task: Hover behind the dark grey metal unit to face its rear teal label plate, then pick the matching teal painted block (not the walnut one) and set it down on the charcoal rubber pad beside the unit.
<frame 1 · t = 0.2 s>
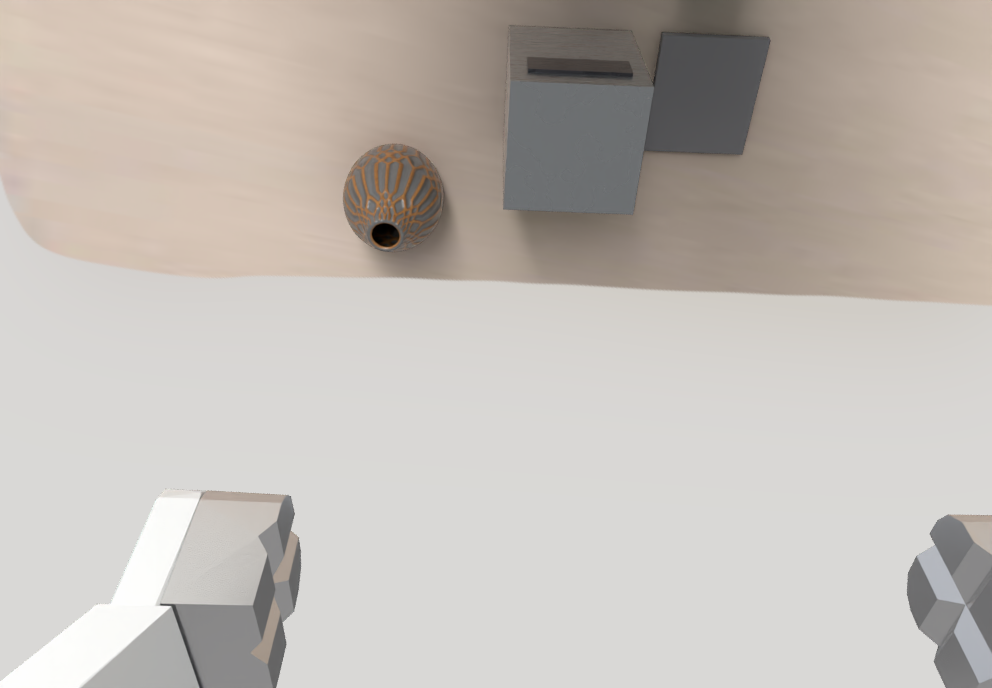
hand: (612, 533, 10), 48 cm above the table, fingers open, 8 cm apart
vase: (399, 173, 59), on the table
unit: (564, 88, 55), on the table
pad: (702, 94, 55), on the table
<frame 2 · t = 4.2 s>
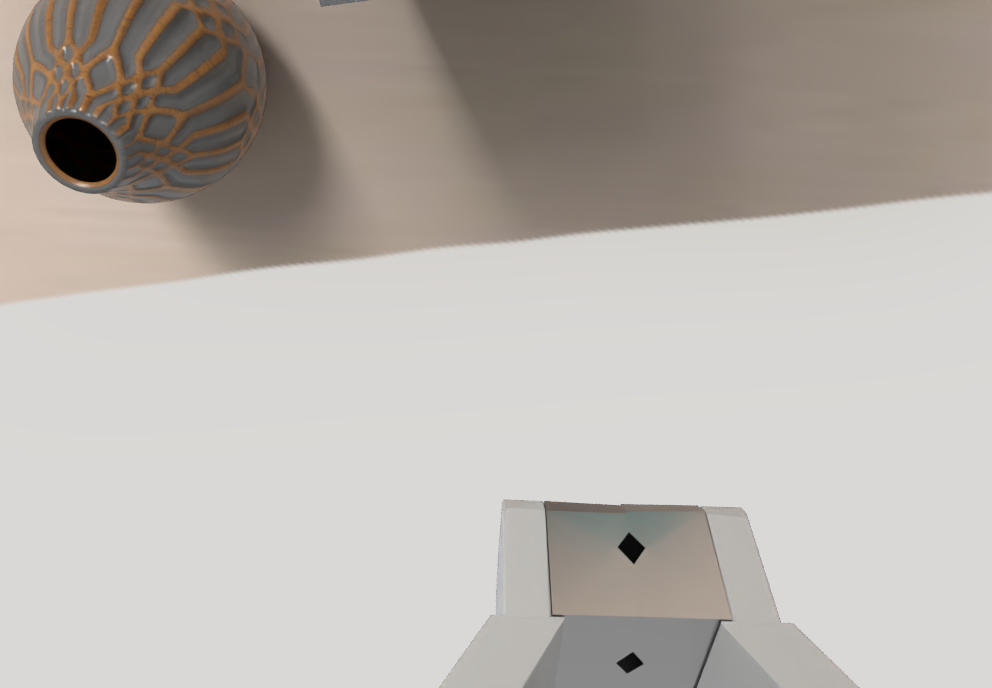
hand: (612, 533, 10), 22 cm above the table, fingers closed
vase: (186, 45, 28), on the table
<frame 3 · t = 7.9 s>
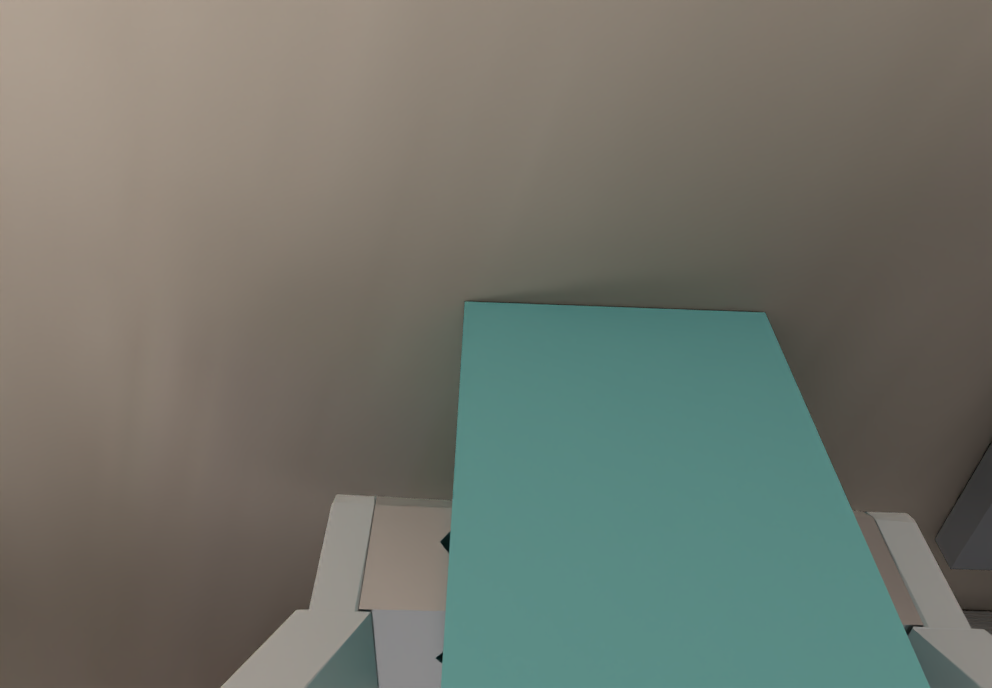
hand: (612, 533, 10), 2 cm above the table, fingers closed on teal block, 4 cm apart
teal block: (597, 417, 12), on the table, touching gripper
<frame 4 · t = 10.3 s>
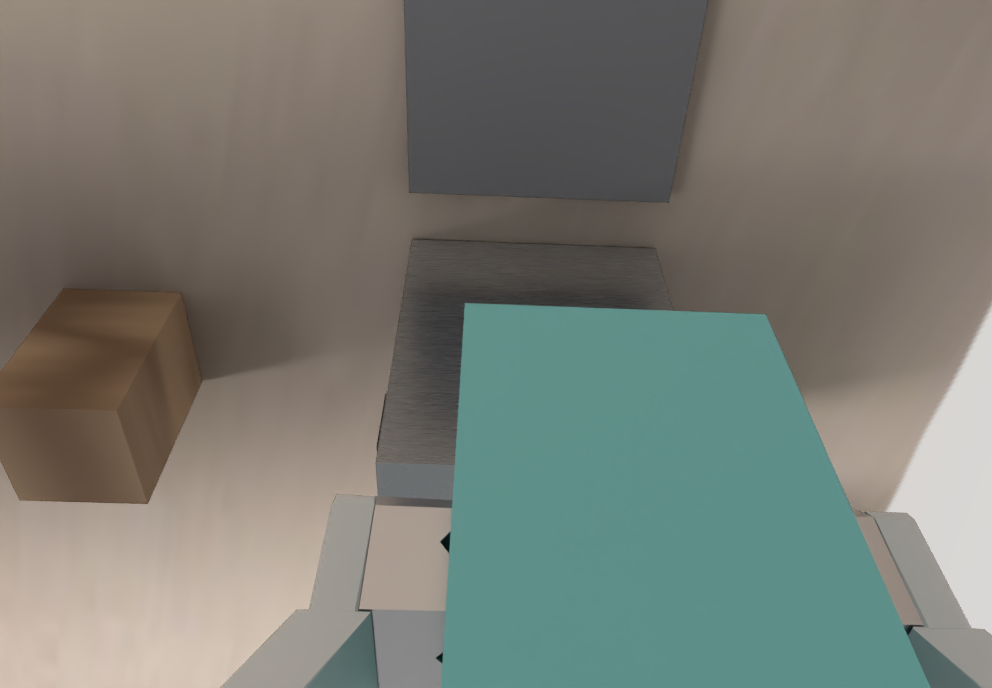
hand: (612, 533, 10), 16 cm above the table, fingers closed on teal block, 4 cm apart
teal block: (597, 419, 12), point 14 cm above the table, touching gripper
unit: (526, 340, 29), on the table
walnut block: (136, 336, 29), on the table
pad: (547, 77, 23), on the table
when the fingers open (4 cm above the table, at t = 12.8 s): teal block drops 1 cm, resting on pad.
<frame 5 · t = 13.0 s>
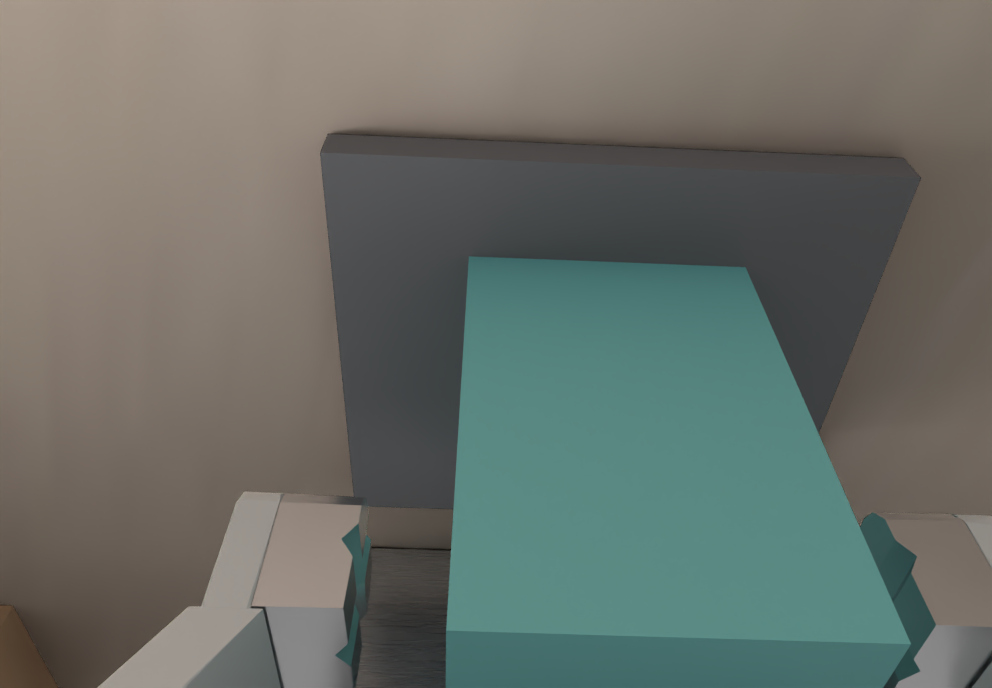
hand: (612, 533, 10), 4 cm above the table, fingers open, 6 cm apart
teal block: (591, 368, 13), point 1 cm above the table, touching pad
unit: (543, 659, 19), on the table
pad: (589, 345, 13), on the table
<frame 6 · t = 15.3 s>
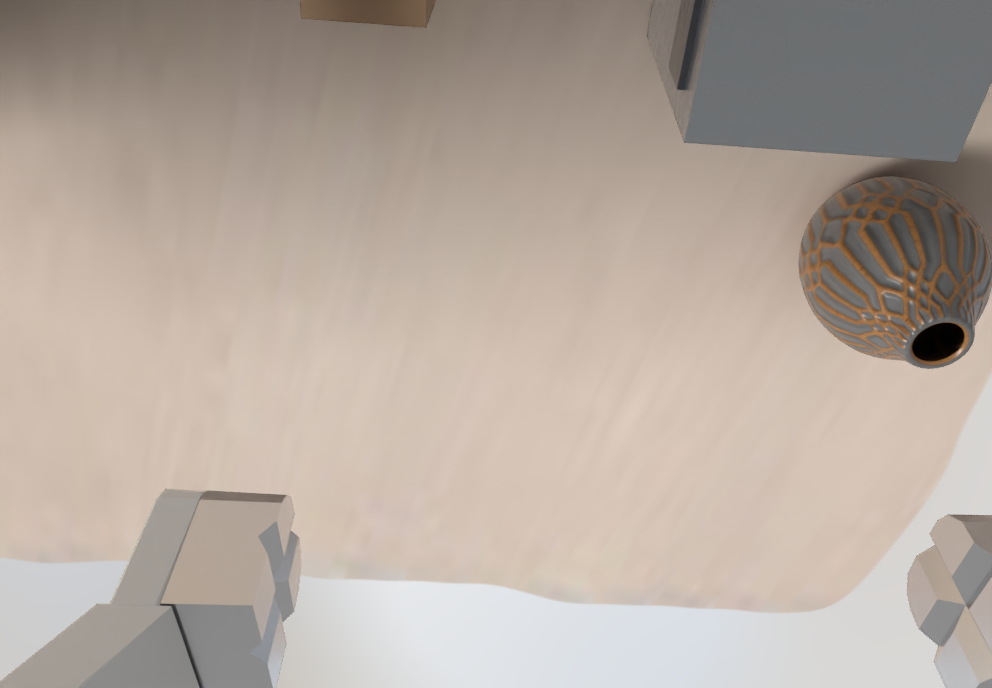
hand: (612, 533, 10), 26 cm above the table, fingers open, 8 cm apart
vase: (861, 222, 36), on the table
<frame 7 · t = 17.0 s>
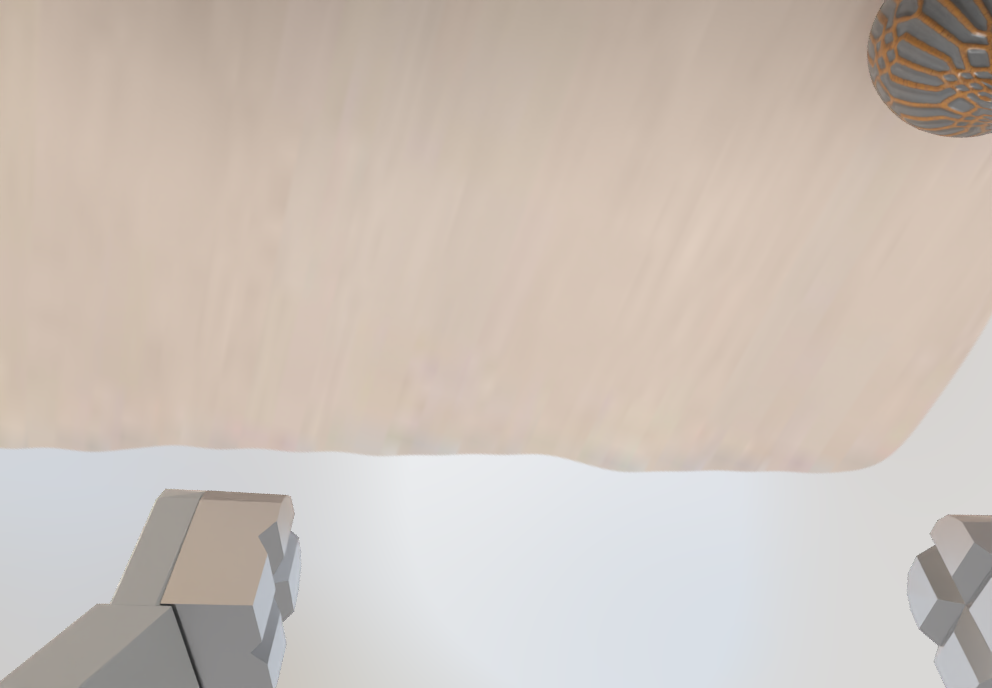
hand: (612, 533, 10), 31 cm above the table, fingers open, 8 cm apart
vase: (924, 20, 37), on the table
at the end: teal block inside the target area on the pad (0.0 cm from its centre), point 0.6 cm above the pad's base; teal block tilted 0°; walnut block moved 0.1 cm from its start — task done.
